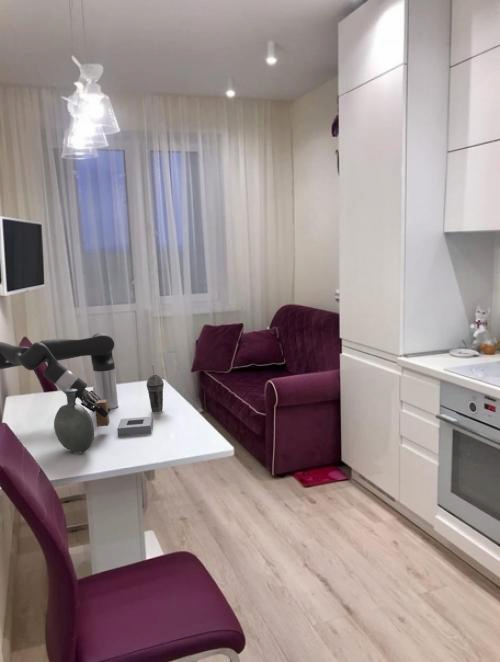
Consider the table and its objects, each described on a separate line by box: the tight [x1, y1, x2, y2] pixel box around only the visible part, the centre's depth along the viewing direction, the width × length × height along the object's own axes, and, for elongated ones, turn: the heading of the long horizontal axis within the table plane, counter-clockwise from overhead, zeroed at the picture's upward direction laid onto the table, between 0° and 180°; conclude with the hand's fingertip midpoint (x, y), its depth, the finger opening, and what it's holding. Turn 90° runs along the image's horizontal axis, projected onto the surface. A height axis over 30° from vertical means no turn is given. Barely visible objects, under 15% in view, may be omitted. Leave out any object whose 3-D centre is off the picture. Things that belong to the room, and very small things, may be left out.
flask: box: [53, 389, 95, 454], centre depth 177 cm, size 12×17×22 cm
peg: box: [94, 400, 110, 428], centre depth 197 cm, size 4×4×9 cm
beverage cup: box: [146, 365, 164, 413], centre depth 222 cm, size 7×7×20 cm
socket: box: [116, 415, 154, 437], centre depth 199 cm, size 12×12×3 cm
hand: (107, 413), depth 197 cm, fingers closed on peg, 4 cm apart
